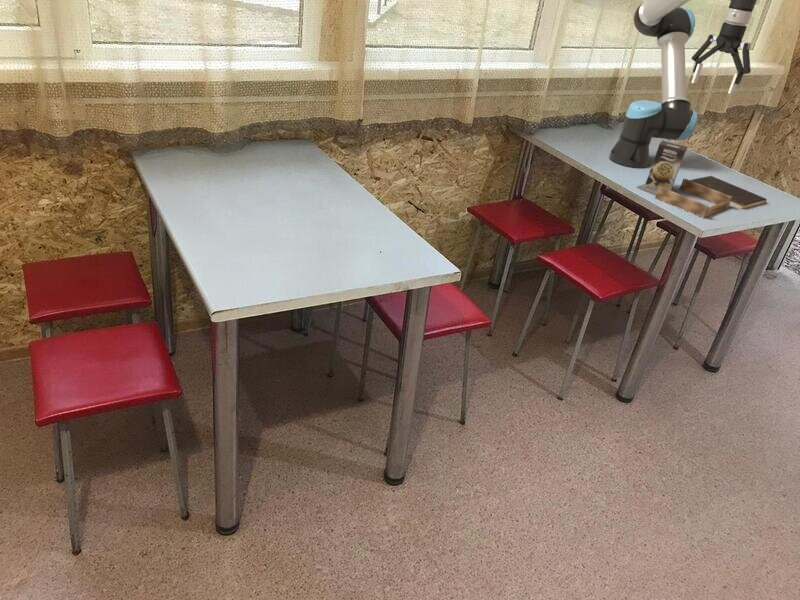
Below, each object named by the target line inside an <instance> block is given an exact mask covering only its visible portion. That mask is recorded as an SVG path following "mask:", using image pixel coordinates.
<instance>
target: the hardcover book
mask: <svg viewBox="0 0 800 600" xmlns="http://www.w3.org/2000/svg"><path fill="white" fill-rule="evenodd" d="M689 180H690V181H693V182H695V183H698V184H701V185H703V186H706V187H708V188H711V189H714V190H716V191H719V192H721V193H724V194H726V195H729V196H732V199H731V202H730V204H729V205H732V206H734V207H736V208H739V209H741V210H743V209H746V208H751V207H755V206H757V205H762V204H766V203H767V198H766V197H764V196H761V195H758V194H756V193H753V192H751V191H749V190H747V189H744V188H742V187H739V186H737V185H734V184H732V183H730V182H727V181H726V180H723V179H720V178H717V177H715V176H713V175H708V176H703V177H698V178H697V177H696V178H694V179H689Z"/></svg>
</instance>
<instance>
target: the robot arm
mask: <svg viewBox="0 0 800 600" xmlns="http://www.w3.org/2000/svg"><path fill="white" fill-rule="evenodd" d="M689 1H691V0H645V1H644V2H642V3H641V4H640V5H639V6H637V8H636V10H635V12H634V13H633V24H634V28H635V29H636V30H637V31H638V32H639V33H640V34H641V35H643V36H646V37H652V38H653V37H654V38H656V45H657V46H658V47H659V48H660V51H661V55H660V56H661V57H660V58H661V99H662V100H661V103H660V102H658V101H654V100H653V101H652V100H647V99H641V100H635V101H633V102H632V103H630V104H629V106H628V109H627V111H626V113H625V117H624V121H623V125H622V128H621V130H620V131H621V132H620V135H619V138H618V139H617V141H616V143H615V144H614V146H613V147H612V149H611V150H610V152H609V156H608V159H609V160H610V161H612V162H614V163H616V164H619V165H621V166H624V167H627V168H629V167H630V168H636V169H642V168H643V169H644V168H647V167H648V165H649V161H650V144H651V141H652V138H653V139H655V138H656V139H664V140H673V141H685V140H687V139H689V137H691V136H692V134H693V133H694V131H695V129H696V127H697V123H698V120H699V119H698V113H697V111H696V110H694V109H691V102H690V101H689V99H687V88H686V87H687V85H686V84H687V83H686V46H685V45H686V44H687V42H689V39H690V38H691V37H692V35H693V34H694V30H695V28H696V17H695V14H694V12H693V11H692V10H691V9H689V8H685V7H682V6H683V5H685V4H686V3H688V2H689ZM729 1H730V2H729V6H728V9H727V10H726V14H725V16H724V21H723V22H722V25H721V27H720V30H719V34H718V35H716V34H709V35H708V37H707V39H706V40H705V42H704V43H703V44H702V46H700V47H699V49H698V50H697V51H696V52H695V53H694V54H693V56H692V57H691V60H692V61H694V62H695V64H694V67H693V70H692V73H694V74H693V77H692V80H691V82H690V83H691V84H697V83H698V80H699V78H700V75H701V71H702V69H703V66H704V63H703V62H704V61H706V60H707V59H709V58H710V57H711V56H712V55H714V54H715V53H716V52H718V51H719V52H721V53H725V54H730V56H731V57H732V60H733V63H734V66H735V68H736V71H737V73H734V76H733V78H732V81H731V83H730V86H729V89H728V92H727V94H734V93H735V90H736V87H737V85H740V84H741V82H742V79H743V76H744V75H749V74H750V73H751V72H752V71H751V60H750V59H751V57H750V48H751V42H743V38H744V36H745V33H746V30H747V28H748V27H747V25H748V24H749V22H750V19H751V17H752V13H753V11H754V9H755V6H756V4H757V1H758V0H729ZM714 42H715V43H716V44H715V46H713V47H711V48H710V45H712V44H713V43H714ZM740 47H741V51H742V59H741V57H740V52H739V48H740ZM708 48H710V49H709V50H708V51H707V52H706V50H707V49H708Z"/></svg>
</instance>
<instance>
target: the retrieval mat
mask: <svg viewBox="0 0 800 600" xmlns="http://www.w3.org/2000/svg"><path fill="white" fill-rule="evenodd" d="M645 184H646V183H644V184H640V185H638V186H636V187H635V188H636V189H639V190H641V191H643V192H646V193H648V192H649V193H648V194H650V195H653V194H654V195H653V196H655V195H656V194H657V191H658V190H655V189H651V188H648V187H645ZM678 190H679V188H677V187H675V186H673V187H672V190H671V191H673V192H676V191H678Z"/></svg>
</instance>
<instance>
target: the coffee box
mask: <svg viewBox="0 0 800 600" xmlns="http://www.w3.org/2000/svg"><path fill="white" fill-rule="evenodd" d="M687 150H688V146H686V145H685V146H684V145H682V144H677V143H674V142H669V141H665V140H661V142H659V145H658V148H657V149H656V152H655V156H654V159H653V161H652V163H651V167H650V170H649V173H648V176H647V178H646V181H645V183H644V184H645V187H648V188H651V189H655V190H658V188H659V187H663V188H665V189H668V190H670V191H671V190H672V187H674V184H675V181H676V179H677V175H678V173H679V171H680V168H681V165H682V162H683V160H684V158H685V154H686V152H687Z"/></svg>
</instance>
